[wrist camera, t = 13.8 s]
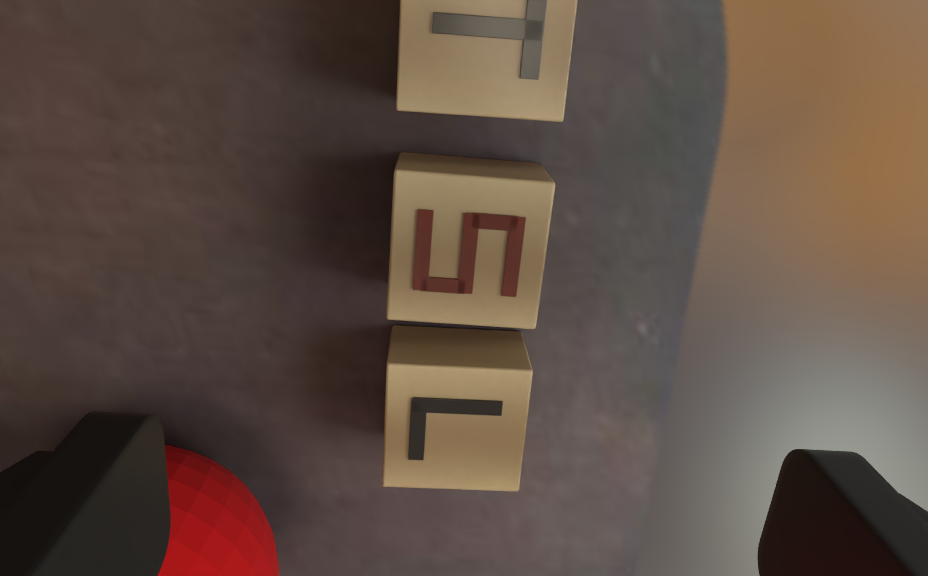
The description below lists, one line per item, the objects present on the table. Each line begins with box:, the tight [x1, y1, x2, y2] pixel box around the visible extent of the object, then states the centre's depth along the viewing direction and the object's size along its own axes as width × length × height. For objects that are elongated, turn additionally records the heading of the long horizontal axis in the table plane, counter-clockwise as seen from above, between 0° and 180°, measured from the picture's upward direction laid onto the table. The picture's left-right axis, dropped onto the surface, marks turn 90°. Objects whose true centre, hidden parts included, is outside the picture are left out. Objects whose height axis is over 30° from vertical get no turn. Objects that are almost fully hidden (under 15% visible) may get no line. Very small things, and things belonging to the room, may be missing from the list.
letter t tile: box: [396, 0, 578, 122], centre depth 19 cm, size 4×4×3 cm
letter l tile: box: [382, 325, 533, 491], centre depth 23 cm, size 4×4×3 cm
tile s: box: [386, 152, 555, 329], centre depth 21 cm, size 4×4×3 cm
